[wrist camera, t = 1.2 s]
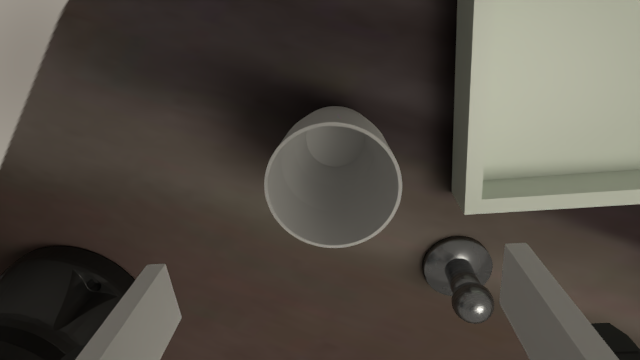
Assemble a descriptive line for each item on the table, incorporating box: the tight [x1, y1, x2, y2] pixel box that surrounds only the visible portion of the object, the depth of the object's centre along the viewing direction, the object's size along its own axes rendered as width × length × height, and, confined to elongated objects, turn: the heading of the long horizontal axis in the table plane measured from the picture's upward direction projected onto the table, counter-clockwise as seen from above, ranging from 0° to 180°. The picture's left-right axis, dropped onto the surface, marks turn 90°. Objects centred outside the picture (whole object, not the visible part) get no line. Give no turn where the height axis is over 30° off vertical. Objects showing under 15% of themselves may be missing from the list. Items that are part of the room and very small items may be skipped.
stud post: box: [423, 236, 494, 324], centre depth 33 cm, size 6×6×7 cm
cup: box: [264, 106, 402, 248], centre depth 28 cm, size 8×8×10 cm
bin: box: [451, 0, 640, 215], centre depth 27 cm, size 19×19×4 cm
